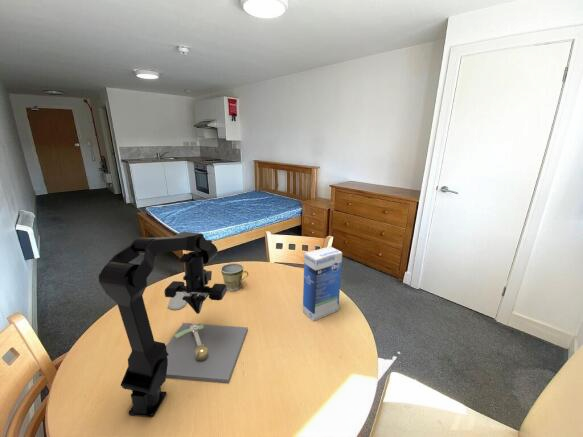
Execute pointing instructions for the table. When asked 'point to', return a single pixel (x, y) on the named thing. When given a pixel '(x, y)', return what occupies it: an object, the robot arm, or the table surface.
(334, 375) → the table surface
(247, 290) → the table surface
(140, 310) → the robot arm
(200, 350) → the lever
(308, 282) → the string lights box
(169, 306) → the flask
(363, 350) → the table surface
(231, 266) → the ceramic cup
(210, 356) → the dial board
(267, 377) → the table surface
